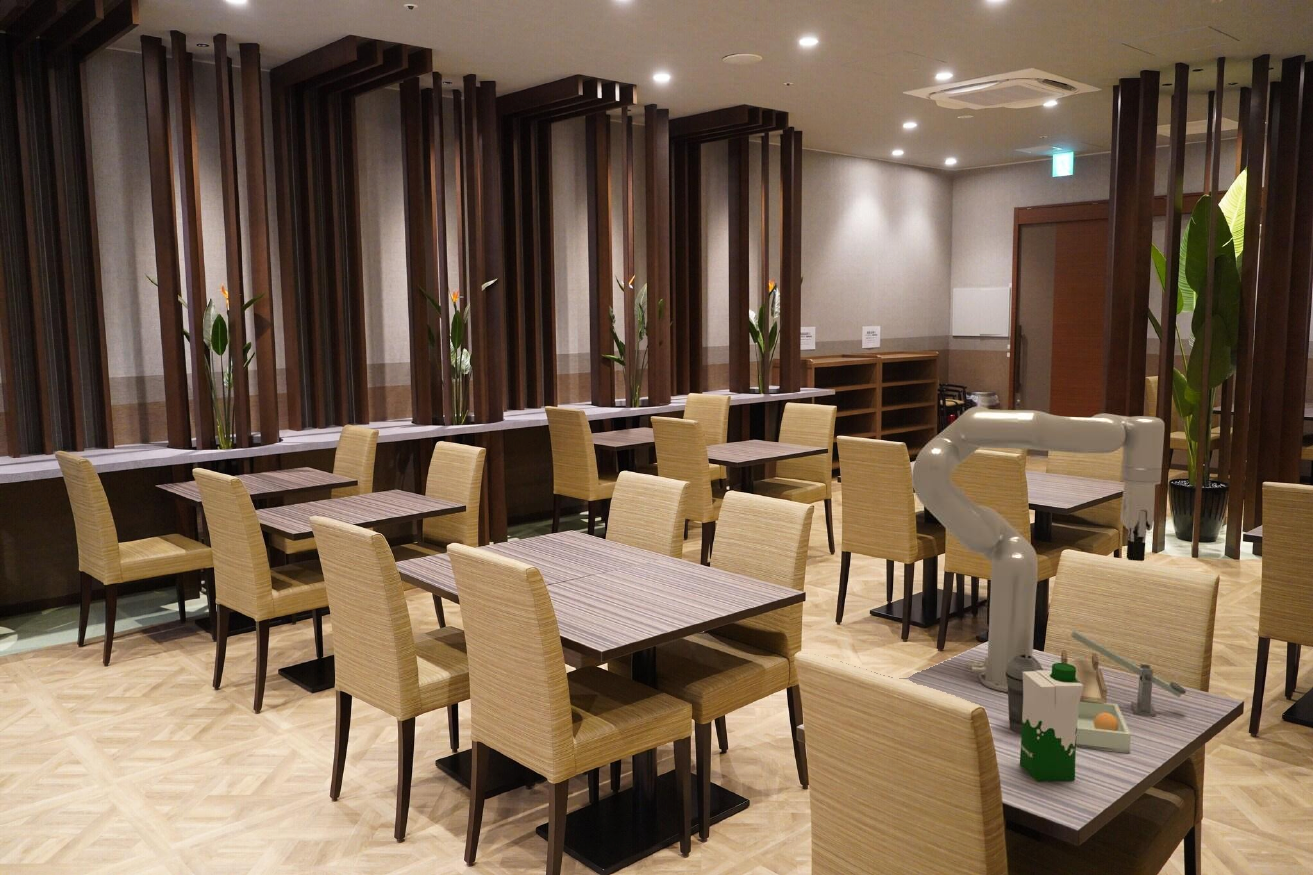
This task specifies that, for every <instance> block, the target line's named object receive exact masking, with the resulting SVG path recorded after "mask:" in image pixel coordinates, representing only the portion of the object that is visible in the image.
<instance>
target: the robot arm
mask: <svg viewBox="0 0 1313 875" xmlns="http://www.w3.org/2000/svg"><path fill="white" fill-rule="evenodd" d="M1164 439H1165V422H1164V420H1162V418H1159V417H1155V416H1147V415H1146V416H1144V415H1142V416H1140V415H1139V416H1138V415H1137V416H1126V415H1117V414H1111V413H1098V414H1095V415H1092V416H1091V417H1081V416H1080V417H1076V416H1060V415H1055V414H1051V413H1050V414H1049V413H1047V412H1044V411H1040V410H1032V409H1031V410H1030V409H1029V410H1028V409H1027V410H1025V409H1020V410H1019V409H1016V410H1015V409H1013V410H1012V409H989V408H987V407H985V406H973V407H971V408H968V409H967V410H965V411H964V412H963V413H962V414H961V415H959V416H958V418H957V419H955V420H954V421H953V422H951V423H950V424H949V425H948V426H947V427H946V428H944V429H943V430H942V431H941V432H940V433H938V434H937V435H935V436H934V437H933V438H932V439H931V440H929V441H928V442H927V443H926V444H925V445H924V447H922V449H921V450H920V451H919V452H918V454H917V456H916V459H915V460H914V465H913V469H912V474H911V476H912V477H911V481H912V486H913V490H914V493H915V495H916V497H917V499H918V500H919V501H920V503H921V505H922V506H923V507H925V509H926V510H928V511H929V513H930V514H932V515H933V517H934V518H936V520H937V521H938V522H939V523H940V524H941V525H942V526H943V527H944V528H945V529H946V530H947V531H948V532H949V533H950V534H951V535H952V536H954V538H955V539H956V540H957V541H959V543H960V544H961V545H962V546H963V547H964V548H965V549H966V550H967V551H970V552H971V553H975V554H981V555H982V556H984V557H985V558H986V559H987V560H988V561H989V562H990V563H991V570H990V598H989V599H990V600H989V620H988V621H989V622H988V623H989V624H988V625H989V626H988V640H987V643H988V644H987V657H984V658H985V659H984V660H980V662H979V661H973V660H965V669H966V670H971V673H976V674H977V673H978V674H979V677H978V678H979V682H980V683H981V684H983V685H984V686H985V687H987V688H989V689H992V690H996V691H1000V692H1005V693H1008V684H1007V679H1006V670H1007V666H1008V664H1009V662H1010V661H1011V660H1012V659H1013V658H1014V657H1016V656H1018V655H1026V645H1027V636H1030V641H1029V652H1028V655H1029V656H1032V657H1033V650H1034V633H1035V632H1034V631H1035V618H1036V617H1035V616H1036V612H1035V611H1036V600H1037V599H1036V598H1037V585H1038V572H1039V568H1038V565H1039V564H1038V555H1037V551H1036V549H1035V547H1034V546H1033V545H1032V544H1031V543H1030V542H1029V541H1028V540H1027V539H1026V538H1025V537H1024V536H1023V535H1022V534H1021V533H1020V532H1019V531H1018V530H1017V529H1016V528H1014V526H1012V525H1011V524H1010V523H1009V522H1008V521H1007V520H1006V519H1005V518H1004V517H1003V516H1002V515H1001V514H1000V513H998V512H997V511H996V510H994V509H993V508H991V507H989V506H986V505H981V504H979V505H978V504H976V503H975V502H974V501H973V500H972V499H971V498H969V496H968V495H967V494H966V493H965V492H964V491H963V490H962V489H960V488H959V487H958V486H957V485H956V484H955V483H954V482H953V479H952V474H953V472H954V471H955V469H956V468H957V467H959V466H960V464H961V463H963V462H965V460H967V459H968V458H969V457H970V456H971V455H972V454H974V453H976V451H977V450H979V449H980V448H986V449H987V448H989V449H990V448H992V449H1017V450H1019V449H1020V450H1036V451H1043V452H1044V451H1045V452H1047V451H1050V452H1062V453H1063V452H1064V453H1078V454H1111V453H1114V452H1116V451H1118V450H1119V449H1120V448H1122V450H1123V451H1122V462H1121V463H1122V464H1121V465H1122V466H1121V474H1120V475H1121V478H1120V480H1121V482H1124V486H1123V492H1122V500H1121V510H1120V516H1119V517H1120V522H1121V524H1122V525H1123V526H1124V527H1125V529H1127V530H1128V535H1127V544H1126V545H1127V546H1126V559H1127V560H1128V561H1135V562H1136V561H1137V562H1144V561H1145V554H1146V539H1147V538H1146V537H1147V531H1151V530H1153V525H1154V516H1155V496H1156V493H1155V492H1156V486H1157V485H1161V482H1162V481H1161V480H1162V465H1163V453H1164V443H1165V441H1164Z"/></svg>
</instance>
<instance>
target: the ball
mask: <svg viewBox="0 0 1313 875" xmlns="http://www.w3.org/2000/svg"><path fill="white" fill-rule="evenodd" d="M1094 726H1095V729H1102V730H1111V731H1117V729H1118V721H1117V719H1116V718H1115V717H1114V716H1113V715H1112V714H1110V713H1105V712H1104V713H1100V714H1098V715H1097V716H1096V717H1095V719H1094Z"/></svg>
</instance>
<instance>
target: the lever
mask: <svg viewBox="0 0 1313 875" xmlns="http://www.w3.org/2000/svg"><path fill="white" fill-rule="evenodd" d="M1070 636H1071V638H1072V639H1074V640H1076V641H1078V642H1080V643H1081V644H1083V645H1085V646H1087V647H1088V648H1090V649H1092V650H1094V651H1095V652H1097V653H1099V654H1100V655H1102V656H1105V657H1106V658H1108V659H1109V660H1111V661H1114V662H1115V663H1116V664H1118V665H1120V666H1122V667H1124V668H1125V669H1128V670H1130V671H1132V672H1133V673H1134V674H1137V675H1138V676H1142V674H1143V669H1142V668H1140V666H1138V665H1137V664H1135V663H1133V662H1131V661H1130V660H1128V659H1126V658H1124V657H1122V656H1120V655H1119V654H1117V653H1115V652H1113V651H1111V650H1110V649H1108V648H1107V647H1104V646H1102V645H1101V644H1100V643H1097V642H1095V641H1094V640H1092V639H1090V638H1088V637H1087V636H1085V635H1083V634H1082V633H1080V632H1077V631H1076V630H1073V631H1072V632H1071V634H1070ZM1152 684H1155V685H1156V686H1157V687H1159V688H1162V689H1163V690H1165V691H1167V692H1168V693H1170V694H1172V695H1173V696H1175V697H1177V698H1180V697H1181V696H1182V695H1185V694H1186V693H1187V691H1186V689H1185V688H1184V687H1182V686H1181V685H1179V684H1177V683H1176V682H1174V681H1171V682H1170V683H1168V682H1167V681H1165V680H1163V679H1161V678H1160V677H1158V676H1156V675H1155V674H1153V676H1152Z"/></svg>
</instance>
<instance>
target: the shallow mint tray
mask: <svg viewBox="0 0 1313 875" xmlns="http://www.w3.org/2000/svg"><path fill="white" fill-rule="evenodd" d="M1104 712H1105V713H1110V714H1112V715H1113V716H1114V717H1115V718H1116V719H1117V721H1118V729H1117V731H1111V730H1102V729H1095V726H1094V719H1095V717H1096V716H1097V715H1098V714H1100V713H1104ZM1131 735H1132V734H1131V732H1130V729H1129V728H1128V725H1127V723H1126V720H1125V718H1124V716H1123V714H1122V712H1121V709H1120V707H1119V705H1118V703H1111V702H1106V703H1100V702H1091V701H1082V700H1080V701H1079V707H1078V723H1077V738H1076V748H1081V749H1090V750H1098V751H1106V752H1116V753H1122V754H1124V753H1125V754H1130V752H1131V748H1130V747H1131V737H1132V736H1131Z"/></svg>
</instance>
